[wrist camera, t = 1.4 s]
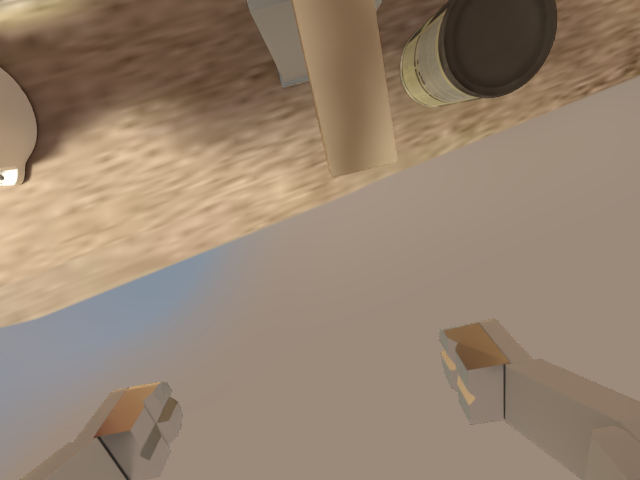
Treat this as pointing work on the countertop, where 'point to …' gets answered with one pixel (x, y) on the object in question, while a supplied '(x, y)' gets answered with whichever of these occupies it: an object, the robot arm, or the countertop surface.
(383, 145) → the rail
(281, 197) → the countertop surface
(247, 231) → the countertop surface
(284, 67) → the upright
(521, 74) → the coffee can
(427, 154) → the countertop surface
